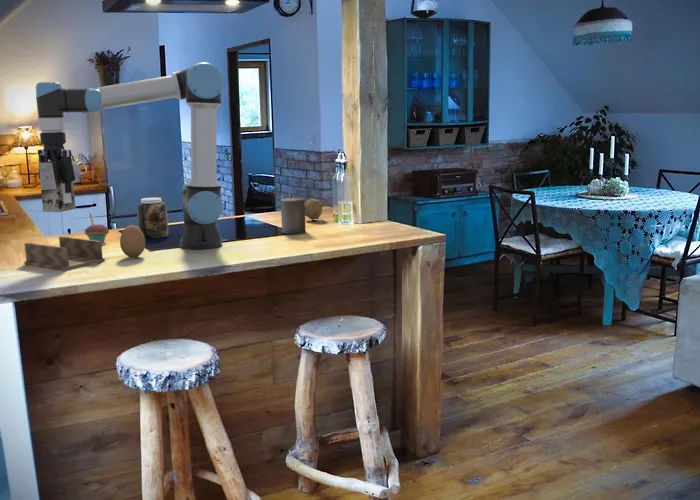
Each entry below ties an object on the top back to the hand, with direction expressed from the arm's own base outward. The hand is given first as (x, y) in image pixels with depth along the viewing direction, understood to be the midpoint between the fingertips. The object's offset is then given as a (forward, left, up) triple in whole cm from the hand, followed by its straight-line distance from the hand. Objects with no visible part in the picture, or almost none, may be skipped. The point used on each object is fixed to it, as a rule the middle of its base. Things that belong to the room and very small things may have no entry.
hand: (59, 202), depth 231 cm
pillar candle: (-34, -83, -21) cm, 92 cm away
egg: (-14, -17, -21) cm, 30 cm away
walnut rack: (0, 0, -20) cm, 20 cm away
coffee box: (0, 0, -3) cm, 3 cm away
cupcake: (+20, -30, -21) cm, 42 cm away
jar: (+12, -51, -21) cm, 56 cm away
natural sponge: (-24, -112, -21) cm, 116 cm away
